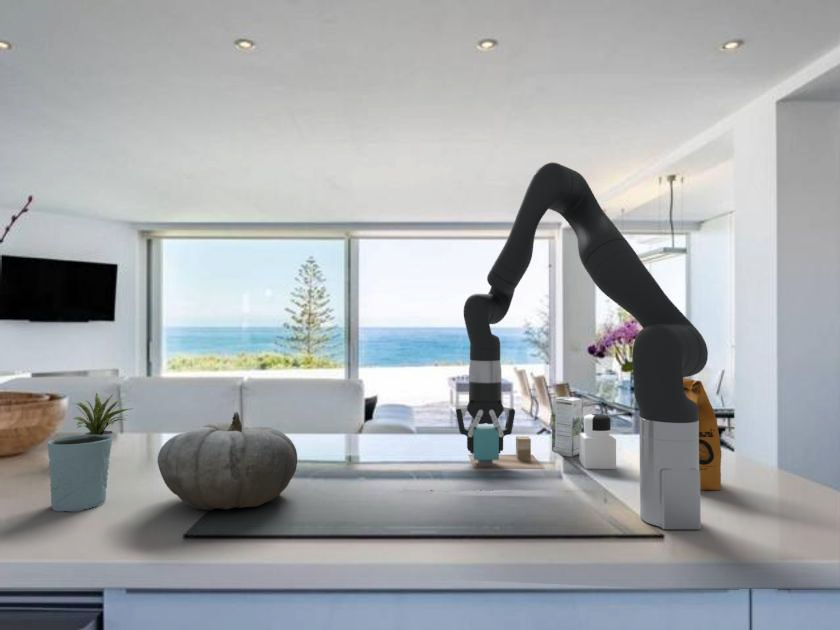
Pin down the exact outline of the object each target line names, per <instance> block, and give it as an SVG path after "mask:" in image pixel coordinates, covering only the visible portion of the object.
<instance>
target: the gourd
mask: <svg viewBox="0 0 840 630" xmlns="http://www.w3.org/2000/svg"><path fill="white" fill-rule="evenodd" d="M157 465H158V469H159V472H160V475H161V477H162V479H163V482H164V484H165V485H166V487H167V489H169V490H170V492H172V493H173V494H174V495H175V496H177V498H179V499H180V500H182V502H184V503H186V504H187V505H189V506H191V507H192V508H194V509H197V510H205V511H212V510H214V509H215V510H216V509H220V510H221V509H222V510H230V509H233V508H238V509H242V508H255V507H256V508H257V507H259V506H261V505H263V504H265V503H268V502H271V501H273V500H274V499H276V498H277V497H278V496H279V495H280V494H282V493H283V492H284V491H285V489H286V488H287V487H288V486H289V484H290V483H291V480H292V478H293V477H294V475H295V474H296V470H297V467H298V466H297V465H298V451H297V448H296V447H295V444H294V443H293V441H292V440H291V438H289V437H288V436H287V435H286V434H285V433H284V432H282V431H280V430H278V429H275V428H273V427H265V426H257V427H256V426H255V427H251V428H250V427H248V426H244V425H242V422H241V420H240V415H239V412H238V411H235V412H233V416H232V421H231V422H230V421H227V420H226V421H225V420H222V421H221V420H219V421H217V420H216V421H213V422H210V423H207V424H205V425H203V426H201V427H197V428H193V429H190V430H189V431H185V432H181V433H177V434H176V435H173V436H172V437H171V438H169V439H168V440H167V441H166V442H165V443H164V444H163V445H162V446H161V448H160V449H159V451H158V455H157Z"/></svg>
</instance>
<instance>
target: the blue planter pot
mask: <svg viewBox="0 0 840 630" xmlns="http://www.w3.org/2000/svg"><path fill="white" fill-rule="evenodd" d="M111 443H112V444H113V440H112V437H111V436H108V435H82V434H80V435H71V436H64V437H59V438H55V439H50V440H48V441H47V454H48V459H49V462H48V466H49V467H48V468H49V475H50V478H49V479H50V484H49V485H50V497H51V498H50V507H51V509H53V510H52V511H54V510H56V511H55V512H57V511H75V512H78V511H77V510H82V511H85V510H84V509H87V510H90V509H89V508H91V509H93V508H92V507H95V506H98V505H100V504H102V503H103V504H105V502H106V500H107V488H108V475H109V468H110V466H109V465H110V456H111V451H110V450H111V449H112V446H111ZM103 504H102V505H103ZM100 506H101V505H100ZM98 507H99V506H98ZM95 508H96V507H95Z"/></svg>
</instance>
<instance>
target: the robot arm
mask: <svg viewBox="0 0 840 630" xmlns="http://www.w3.org/2000/svg"><path fill="white" fill-rule="evenodd" d="M520 204H521V205H520V207H519V210H518V212H517V214H516V217H515V220H514V223H513V225H512V227H511V230H510V233H509V234H508V237H507V240H506V241H505V244H504V246H503V247H502V249H501V251H500V253H498V256H497V258H496V259H495V261H494V263H493V265H492V267H491V268H490V270H489V272H488V274H487V278H486V281H487V283H488V285H489V286H490V289H489V292H488V293H472V294H471V295H469V296H468V298H466V300H465V303H464V305H463V319H464V320H463V321H464V324H465V327H466V331H467V336H468V339H469V367H468V404H467V405H466V406H464V407H459V406H458V407H456V408H455V414H456V420H457V426H458V431H459V433H460V435H463V436H466V448H467V450H468V451H469V453H470V454H472V453H473V429H476V428H477V426H478V425H484V424H488V425H492V426H494V427H495V428H496V429H498V430H499V455H501V452H503V450H504V438H505V436H508V435H511V434H512V431H513V428H514V427H513V426H514V422H515V421H514V420H515V417H516V416H515V415H516V410H515V408H513V407H506V406H504V405H503V404H502V403H503V402H502V364H501V341H500V338H499V337H498V336H497V335H495V334H493V333H492V329H491V326H490V325H495V324H498V323H500V322H501V321H502V320H503V319H504V318H505V317H506V315H507V314H508V312H509V310H510V307H511V303H512V300H513V297H514V295H515V290H516V288H517V287H518V285H519V283H520V282H521V280H522V278H523V276H524V275H525V274H526V272H527V271H528V268H529V267H530V264H531V261H532V257H533V253H534V243H535V237H536V232H537V229H538V226H539V224H540V222H541V220H542V219H543V217H544V216H545V214H546V212H547V211H548V210H550V211H553V212H556V213H557V214H558V215H560V216H562V217H563V219H564V220H565V221H566V222H567V223H568V224H569V226H570V227H571V229H572V230H573V232H574V234H575V236H576V239H577V249H578V250H577V251H578V256H579V259H580V262H581V264H582V265H583V267H584V269H585V270H586V272H587V273H588V275H589V277H590V279H592V282H593V283H594V284H595V285H596V287H597V288H598V289H599V290H600V291H601V292H602V293H603V294H604V295H605V296H606V297H608V298H609V299H610V300H611V301H613V302H615V304H617V305H618V306H619V307H620V308H623V310H624V311H625V312H627V313H628V314H630V315H631V316H632V317H633V318H634V320H636V321H637V322H638V324H639V325H640V326H641V327H642V329H641V330H640V331H639V332H638V333H637V334H636V337H635V338H634V341H633V345H632V352H631V353H632V355H631V356H632V357H631V358H632V376H633V377H632V378H633V379H632V380H633V393H634V398H635V401H636V403H637V407H638V410H639V411H638V412H639V504H640V506H639V507H640V509H639V510H640V511H639V514H640V519H641V520H642V521H644V522H645V523H647V524H651V525H653V526H657V527H659V528H661V529H662V530H701V529H702V528H701V527H702V524H701V522H702V519H701V509H702V508H701V507H702V506H701V490H700V471H699V409H698V405H697V404H696V403H695V402H694V401H692V400H690V399H689V398H688V397H687V396H686V394H685V392H684V383H683V378H687V377H691V376H695V375H697V374H700V372H702V371H703V369H705V367H706V365H707V362H708V359H709V358H708V356H709V349H708V346H707V344H706V341H705V338H704V336H703V335H702V334H701V333H700V331H699V330H698V329H697V328H696V326H695V325H694V324H693V323H692V322H691V321H690V320H689V319H688V318H687V317H686V316H685V315H684V314H683V312H682V311H681V310H680V309H679V308H678V307H677V306H676V305H675V304H674V303H673V301H671V299H670V298H669V297H668V296H667V294H666V293H665V292H664V290H663V289H662V288H661V286H660V285H659V283H658V282H657V280H656V278H654V276H653V275H652V273H651V272H650V271H649V270H648V268H647V267H646V266H645V265H644V263H643V262H642V261H641V258H640V256H638V254H637V252H636V251H635V250H634V248H633V247H632V246H631V245H630V243H629V241H628V240H627V239H626V238H625V237H624V235H622V232H620V230H619V229H618V228H617V226H616V225H615V223H614V222H613V221H612V220H611V219H610V217H609V216H608V215H607V214H606V213H605V211H604V210H603V208H602V207H601V205H600V203H599V202H598V200H597V198H596V196H595V194H594V193H593V190H592V189H591V187H590V185H589V183H588V182H587V180H586V179H585V177H584V176H583V175H582V174H581V173H579V172H578V171H577V170H574V169H572V168H570V167H567V166H565V165H564V164H563V165H562V164H560V163H558V162H555V161H554V162H553V161H550V162H547V163H544V164H543V165H541V166H539V168H538V169H537V170H536V171H535V172H534V174H533V176H532V177H531V180H530V182H529V184H528V187H527V188H526V191H525V194H524V196H523V199H522V202H521V203H520ZM467 412H468V414H469V415H470V416H471V418H472V419H471V421H470V423H469V426H468V429H466V428H465V423H464V418H465V417H466V413H467ZM503 412H504V416H505V417H506V421H505V425H504V426H505V427H504V428H503V429H502V426H501V425H500V422H499V420H498V419H499V418H500V417H501V415H502V414H503Z"/></svg>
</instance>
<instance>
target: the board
mask: <svg viewBox="0 0 840 630" xmlns="http://www.w3.org/2000/svg"><path fill="white" fill-rule="evenodd" d="M531 439H532V438H530V437H529V436H520V435H519V436H515V454H499V460H492V466H479V464H478V460H474V458H473V456H472V454H468V458H469V460H470V463H471V466H472V468H473V470H545V469H546V468H545V467H544V465H542V464H541V463H540V461H539V460H538V459H537V458H536V457H535V456H534V455H533V454H532V453H531V452H532V448H531V447H532V446H531V445H532V444H531V443H532V440H531Z"/></svg>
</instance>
